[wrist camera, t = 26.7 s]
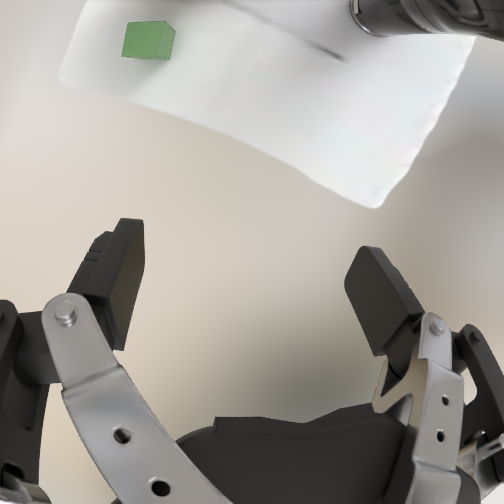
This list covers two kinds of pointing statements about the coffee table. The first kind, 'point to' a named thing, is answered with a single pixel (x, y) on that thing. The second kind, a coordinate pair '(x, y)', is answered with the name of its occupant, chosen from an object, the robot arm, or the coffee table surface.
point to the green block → (148, 40)
